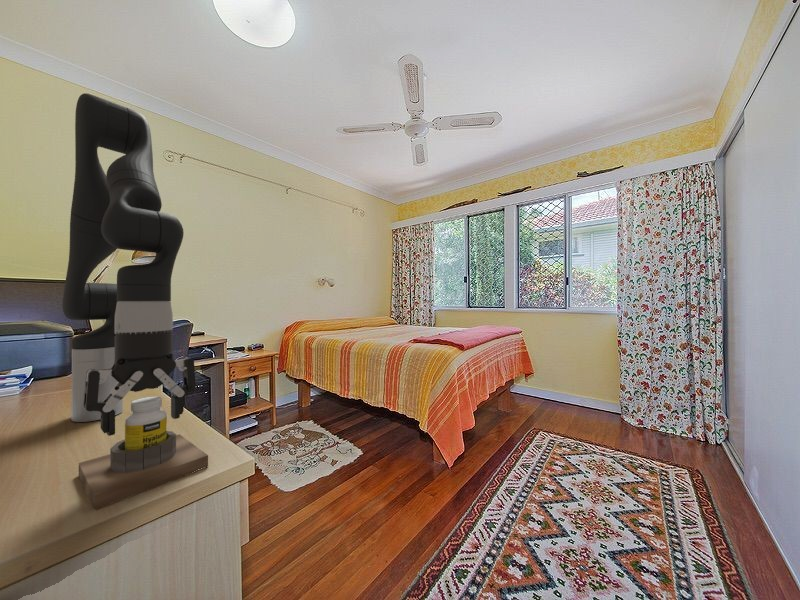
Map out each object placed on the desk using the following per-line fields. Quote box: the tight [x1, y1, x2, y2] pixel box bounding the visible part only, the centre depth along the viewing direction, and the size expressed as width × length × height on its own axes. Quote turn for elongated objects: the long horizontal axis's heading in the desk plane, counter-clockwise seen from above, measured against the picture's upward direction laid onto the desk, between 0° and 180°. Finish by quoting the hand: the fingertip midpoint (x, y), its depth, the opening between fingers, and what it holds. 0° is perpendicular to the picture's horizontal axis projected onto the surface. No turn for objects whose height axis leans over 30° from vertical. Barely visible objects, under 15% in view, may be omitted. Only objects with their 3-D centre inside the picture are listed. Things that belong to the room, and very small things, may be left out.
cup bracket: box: [78, 430, 209, 511], centre depth 52 cm, size 14×14×5 cm
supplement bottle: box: [124, 396, 168, 451], centre depth 52 cm, size 5×5×10 cm
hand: (144, 425), depth 52 cm, fingers open, 8 cm apart
